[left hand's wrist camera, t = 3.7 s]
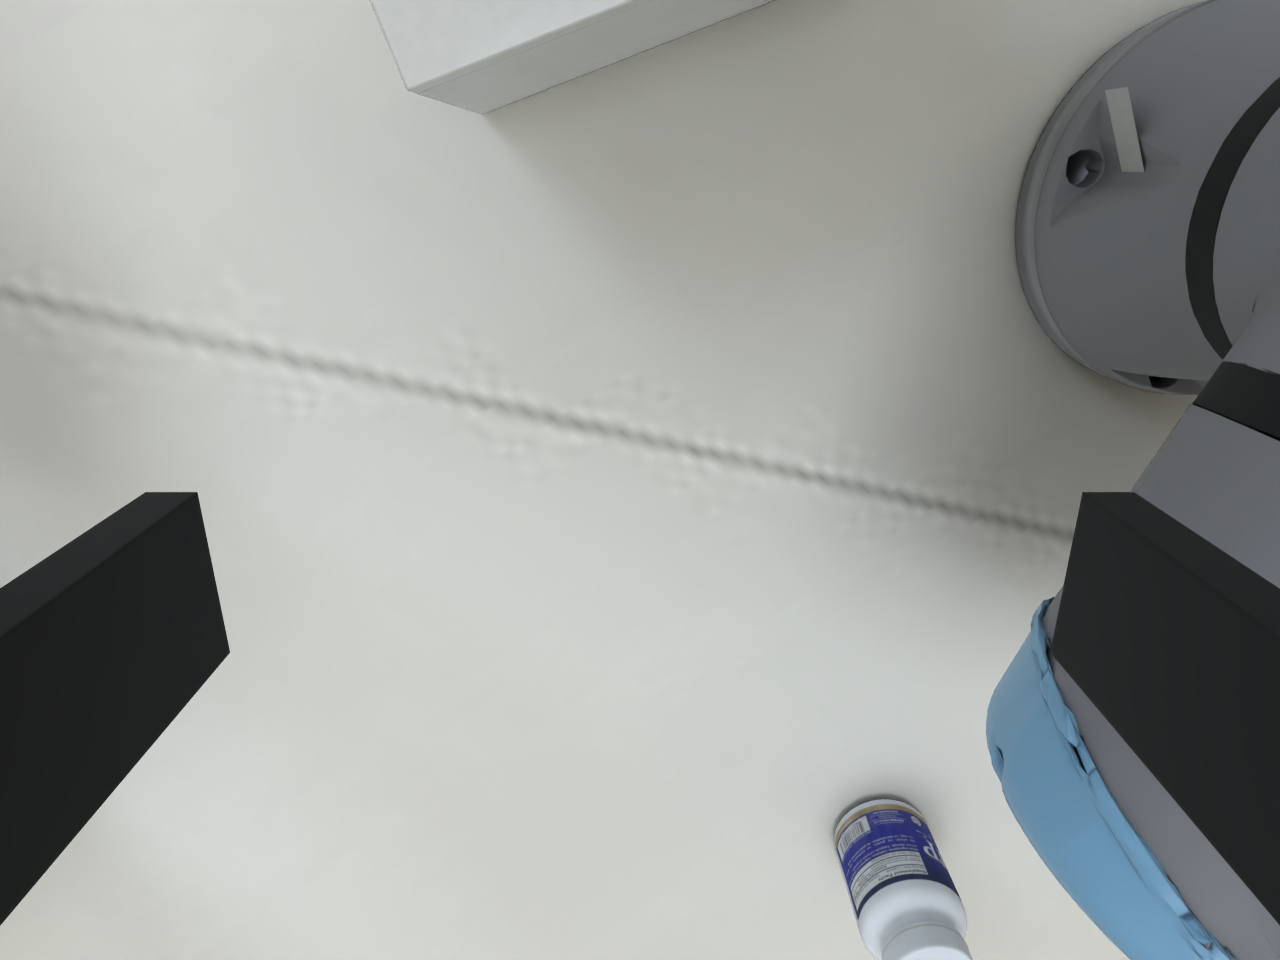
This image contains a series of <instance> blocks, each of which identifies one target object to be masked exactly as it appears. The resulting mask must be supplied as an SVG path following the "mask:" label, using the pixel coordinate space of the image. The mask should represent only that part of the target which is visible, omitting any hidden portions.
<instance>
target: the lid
mask: <svg viewBox="0 0 1280 960" xmlns="http://www.w3.org/2000/svg"><path fill="white" fill-rule="evenodd" d="M648 1H651V0H370V2H371V4H372V7H373V9H374V12H375V14H376V16H377V19H378V21H379V24H380V26H381V29H382V31H383V34H384V36H385V38H386V41H387V43H388V46H389V48H390V51H391V53H392V55H393V58H394V60H395V63H396V65H397V68H398V70H399V72H400V75H401V77H402V80H403V82H404V85H405V87H406V89H407V90H408V91H411V92H414V93H419V92H422V91H424V90H427V89H430V88H432V87H435V86H437V85H440V84H442V83H445V82H447V81H450V80H452V79H455V78H457V77H460V76H462V75H465V74H467V73H470V72H472V71H475V70H477V69H480V68H482V67H485V66H487V65H490V64H492V63H495V62H497V61H500V60H502V59H505V58H507V57H510V56H512V55H515V54H518V53H520V52H523V51H525V50H528V49H530V48H533V47H535V46H538V45H540V44H543V43H545V42H548V41H550V40H553V39H555V38H558V37H560V36H563V35H565V34H568V33H570V32H573V31H575V30H578V29H580V28H583V27H585V26H588V25H590V24H593V23H595V22H598V21H601V20H603V19H606V18H608V17H611V16H613V15H616V14H618V13H621V12H623V11H626V10H628V9H631V8H633V7H636V6H638V5H641V4H643V3H646V2H648Z"/></svg>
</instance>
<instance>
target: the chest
mask: <svg viewBox="0 0 1280 960" xmlns="http://www.w3.org/2000/svg"><path fill="white" fill-rule="evenodd" d="M771 1H774V0H651V1H648V2H646V3H643V4H641V5H638V6H636V7H633V8H631V9H628V10H626V11H623V12H621V13H618V14H616V15H613V16H611V17H608V18H606V19H603V20H601V21H598V22H595V23H593V24H590V25H588V26H585V27H583V28H580V29H578V30H575V31H573V32H570V33H568V34H565V35H563V36H560V37H558V38H555V39H553V40H550V41H548V42H545V43H543V44H540V45H538V46H535V47H533V48H530V49H528V50H525V51H523V52H520V53H518V54H515V55H512V56H510V57H507V58H505V59H502V60H500V61H497V62H495V63H492V64H490V65H487V66H485V67H482V68H480V69H477V70H475V71H472V72H470V73H467V74H465V75H462V76H460V77H457V78H455V79H452V80H450V81H447V82H445V83H442V84H440V85H437V86H435V87H432V88H430V89H427V90H424V91H422V92H419V93H417V94H419V95H422V96H425V97H428V98H432V99H435V100H438V101H441V102H444V103H447V104H450V105H454V106H457V107H460V108H463V109H466V110H469V111H472V112H476V113H479V114H485V113H487V112H490V111H492V110H495V109H497V108H500V107H502V106H505V105H508V104H510V103H513V102H515V101H518V100H520V99H523V98H525V97H528V96H531V95H533V94H536V93H538V92H541V91H543V90H546V89H548V88H551V87H554V86H556V85H559V84H561V83H564V82H566V81H569V80H571V79H574V78H577V77H579V76H582V75H584V74H587V73H589V72H592V71H595V70H597V69H600V68H602V67H605V66H607V65H610V64H612V63H615V62H618V61H620V60H623V59H625V58H628V57H630V56H633V55H635V54H638V53H641V52H643V51H646V50H648V49H651V48H653V47H656V46H658V45H661V44H664V43H666V42H669V41H671V40H674V39H676V38H679V37H681V36H684V35H687V34H689V33H692V32H694V31H697V30H699V29H702V28H705V27H707V26H710V25H712V24H715V23H717V22H720V21H722V20H725V19H728V18H730V17H733V16H735V15H738V14H740V13H743V12H745V11H748V10H751V9H753V8H756V7H758V6H761V5H763V4H766V3H768V2H771Z"/></svg>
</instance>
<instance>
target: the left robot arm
mask: <svg viewBox="0 0 1280 960" xmlns="http://www.w3.org/2000/svg"><path fill="white" fill-rule="evenodd" d="M1015 238H1016V256H1017V263H1018V269H1019V274H1020V278H1021V282H1022V286H1023V289H1024V292H1025V295H1026V297H1027V300H1028V303H1029V305H1030V307H1031V309H1032V311H1033V313H1034V315H1035V317H1036V319H1037V320H1038V322H1039V323H1040V325H1041V326H1042V327H1043V329H1044V330H1045V332H1046V333H1047V334H1048V335H1049V337H1050V338H1051V339H1052V340H1053V341H1054V342H1055V344H1057V345H1058V346H1059V347H1060V348H1061V349H1062V350H1063V351H1064V352H1065V353H1066V354H1068V355H1069V356H1070V357H1072V358H1073V359H1074V360H1076V361H1077V362H1079V363H1080V364H1082V365H1084V366H1086V367H1087V368H1089V369H1091V370H1093V371H1095V372H1097V373H1099V374H1101V375H1104V376H1106V377H1108V378H1110V379H1112V380H1115V381H1117V382H1120V383H1122V384H1124V385H1127V386H1130V387H1134V388H1137V389H1140V390H1144V391H1150V392H1155V393H1163V394H1181V395H1198V394H1199V395H1198V397H1197V398H1196V400H1195V401H1194V402H1193V403H1192V404H1193V405H1191V404H1190V406H1189V407H1188V409H1187V410H1186V412H1185V413H1184V414H1183V416H1182V417H1181V419H1180V420H1179V422H1178V423H1177V425H1176V426H1175V428H1174V429H1173V430H1172V432H1171V433H1170V435H1169V436H1168V438H1167V439H1166V441H1165V442H1164V444H1163V445H1162V446H1161V448H1160V449H1159V451H1158V452H1157V454H1156V455H1155V457H1154V458H1153V459H1152V461H1151V462H1150V464H1149V465H1148V467H1147V468H1146V470H1145V471H1144V473H1143V474H1142V475H1141V477H1140V478H1139V480H1138V481H1137V483H1136V484H1135V486H1134V487H1133V488H1132V490H1131V491H1130V492H1083V493H1082V498H1081V503H1080V508H1079V513H1078V518H1077V523H1076V528H1075V533H1074V537H1073V542H1072V547H1071V552H1070V557H1069V562H1068V567H1067V572H1066V577H1065V582H1064V585H1063V587H1062V588H1061V590H1060V591H1059V592H1058V594H1057V595H1056V596H1055V597H1053V598H1051V599H1049V600H1044V601H1043V602H1042V603H1041V605H1040V606H1039V607H1038V609H1037V610H1036V612H1035V613H1034V615H1033V619H1032V622H1031V632H1030V633H1029V635H1028V637H1027V638H1026V640H1025V641H1024V643H1023V645H1022V646H1021V648H1020V649H1019V651H1018V653H1017V654H1016V656H1015V658H1014V659H1013V661H1012V662H1011V664H1010V666H1009V667H1008V669H1007V671H1006V672H1005V674H1004V675H1003V677H1002V679H1001V680H1000V682H999V683H998V685H997V687H996V688H995V690H994V693H993V695H992V697H991V700H990V703H989V707H988V712H987V721H986V736H987V744H988V749H989V752H990V755H991V760H992V765H993V768H994V770H995V772H996V774H997V776H998V778H999V779H1000V781H1001V783H1002V790H1003V793H1004V795H1005V799H1006V801H1007V803H1008V805H1009V807H1010V809H1011V811H1012V813H1013V814H1014V816H1015V818H1016V820H1017V821H1018V823H1019V825H1020V826H1021V828H1022V830H1023V832H1024V833H1025V835H1026V836H1027V838H1028V839H1029V841H1030V843H1031V844H1032V846H1033V847H1034V849H1035V850H1036V852H1037V853H1038V855H1039V856H1040V857H1041V859H1042V860H1043V862H1044V863H1045V864H1046V866H1047V867H1048V869H1049V870H1050V871H1051V872H1052V874H1053V875H1054V876H1055V878H1056V879H1057V880H1058V882H1059V883H1060V884H1061V885H1062V887H1063V888H1064V889H1065V890H1066V891H1067V892H1068V894H1069V895H1070V896H1071V897H1072V898H1073V900H1074V901H1075V902H1076V903H1077V904H1078V906H1079V907H1080V908H1081V909H1082V910H1083V911H1084V912H1085V913H1086V915H1087V916H1088V917H1089V918H1090V919H1091V920H1092V921H1093V922H1094V923H1095V924H1096V925H1097V926H1098V928H1099V929H1100V930H1101V931H1102V932H1103V933H1104V934H1105V935H1106V936H1107V937H1108V938H1109V939H1110V940H1111V941H1112V942H1113V943H1114V944H1115V945H1116V946H1117V947H1118V948H1119V949H1120V950H1121V951H1122V952H1123V953H1124V954H1125V955H1126V956H1127V957H1128V958H1129V959H1130V960H1280V0H1207V1H1204V2H1200V3H1197V4H1194V5H1191V6H1188V7H1185V8H1182V9H1179V10H1176V11H1174V12H1172V13H1170V14H1167V15H1165V16H1163V17H1161V18H1158V19H1156V20H1155V21H1153V22H1151V23H1149V24H1147V25H1146V26H1144V27H1142V28H1140V29H1139V30H1137V31H1136V32H1134V33H1133V34H1131V35H1130V36H1128V37H1127V38H1125V39H1124V40H1122V41H1121V42H1120V43H1118V44H1117V45H1116V46H1115V47H1113V48H1112V49H1111V50H1110V51H1108V52H1107V53H1106V54H1105V55H1104V56H1102V57H1101V58H1100V59H1099V60H1098V61H1097V62H1096V63H1095V64H1094V65H1093V66H1092V67H1091V68H1090V69H1089V70H1088V71H1087V72H1086V73H1085V74H1084V75H1083V76H1082V77H1081V79H1080V80H1079V81H1078V82H1077V83H1076V84H1075V85H1074V87H1073V88H1072V89H1071V90H1070V92H1069V93H1068V94H1067V96H1066V97H1065V98H1064V100H1063V101H1062V102H1061V104H1060V105H1059V106H1058V108H1057V110H1056V111H1055V113H1054V114H1053V116H1052V117H1051V119H1050V121H1049V122H1048V124H1047V126H1046V128H1045V130H1044V131H1043V133H1042V135H1041V137H1040V139H1039V141H1038V143H1037V145H1036V148H1035V150H1034V153H1033V155H1032V157H1031V160H1030V162H1029V165H1028V168H1027V171H1026V174H1025V178H1024V181H1023V185H1022V189H1021V193H1020V198H1019V203H1018V211H1017V218H1016V237H1015ZM229 653H230V650H229V645H228V640H227V635H226V630H225V626H224V621H223V616H222V611H221V606H220V601H219V596H218V591H217V586H216V582H215V577H214V572H213V567H212V562H211V557H210V552H209V547H208V542H207V537H206V533H205V528H204V523H203V518H202V513H201V508H200V503H199V498H198V493H197V492H145V493H144V494H142V495H141V496H139V497H138V498H136V499H135V500H133V501H132V502H130V503H129V504H127V505H126V506H124V507H123V508H121V509H120V510H118V511H117V512H115V513H114V514H112V515H111V516H109V517H108V518H106V519H105V520H103V521H101V522H100V523H98V524H97V525H95V526H94V527H92V528H91V529H89V530H88V531H86V532H85V533H83V534H82V535H80V536H79V537H77V538H76V539H74V540H73V541H71V542H70V543H68V544H67V545H65V546H64V547H62V548H61V549H59V550H58V551H56V552H55V553H53V554H52V555H50V556H49V557H47V558H46V559H44V560H43V561H41V562H40V563H38V564H37V565H35V566H34V567H32V568H30V569H29V570H27V571H26V572H24V573H23V574H21V575H20V576H18V577H17V578H15V579H14V580H12V581H11V582H9V583H8V584H6V585H5V586H3V587H2V588H0V925H1V924H2V923H3V922H4V920H5V919H6V918H7V917H8V916H9V914H10V913H11V912H12V911H13V910H14V909H15V907H16V906H17V905H18V904H19V903H20V901H21V900H22V899H23V898H24V897H25V895H26V894H27V893H28V892H29V891H30V890H31V888H32V887H33V886H34V885H35V884H36V882H37V881H38V880H39V879H40V878H41V876H42V875H43V874H44V873H45V872H46V870H47V869H48V868H49V867H50V866H51V865H52V863H53V862H54V861H55V860H56V859H57V857H58V856H59V855H60V854H61V853H62V851H63V850H64V849H65V848H66V847H67V846H68V844H69V843H70V842H71V841H72V840H73V838H74V837H75V836H76V835H77V834H78V832H79V831H80V830H81V829H82V828H83V827H84V825H85V824H86V823H87V822H88V821H89V819H90V818H91V817H92V816H93V815H94V813H95V812H96V811H97V810H98V809H99V807H100V806H101V805H102V804H103V803H104V802H105V800H106V799H107V798H108V797H109V796H110V794H111V793H112V792H113V791H114V790H115V788H116V787H117V786H118V785H119V784H120V783H121V781H122V780H123V779H124V778H125V777H126V775H127V774H128V773H129V772H130V771H131V769H132V768H133V767H134V766H135V765H136V764H137V762H138V761H139V760H140V759H141V758H142V756H143V755H144V754H145V753H146V752H147V750H148V749H149V748H150V747H151V746H152V745H153V743H154V742H155V741H156V740H157V739H158V737H159V736H160V735H161V734H162V733H163V731H164V730H165V729H166V728H167V727H168V725H169V724H170V723H171V722H172V721H173V720H174V718H175V717H176V716H177V715H178V714H179V712H180V711H181V710H182V709H183V708H184V706H185V705H186V704H187V703H188V702H189V701H190V699H191V698H192V697H193V696H194V695H195V693H196V692H197V691H198V690H199V689H200V687H201V686H202V685H203V684H204V683H205V682H206V680H207V679H208V678H209V677H210V676H211V674H212V673H213V672H214V671H215V670H216V668H217V667H218V666H219V665H220V664H221V662H222V661H223V660H224V659H225V658H226V657H227V655H228V654H229Z"/></svg>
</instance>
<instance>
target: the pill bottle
mask: <svg viewBox="0 0 1280 960" xmlns="http://www.w3.org/2000/svg"><path fill="white" fill-rule="evenodd" d="M834 848H835V852H836V855H837V858H838V862H839V865H840V868H841V871H842V874H843V878H844V881H845V884H846V887H847V891H848V894H849V897H850V901H851V904H852V908H853V911H854V915H855V918H856V921H857V925H858V928H859V932H860V935H861V938H862V941H863V943H864V945H865V947H866V948H867V950H868V951H869V952H870V953H871V955H872V956H873V957H875V958H876V959H877V960H972V957H971V955H970V952H969V949H968V946H967V944H966V942H965V941H964V937H965V934H966V930H967V916H966V912H965V909H964V906H963V904H962V901H961V899H960V897H959V894H958V892H957V890H956V888H955V886H954V883H953V881H952V879H951V877H950V875H949V872H948V870H947V868H946V866H945V864H944V862H943V859H942V857H941V855H940V853H939V850H938V848H937V846H936V844H935V842H934V839H933V837H932V835H931V832H930V830H929V828H928V826H927V824H926V821H925V820H924V818H923V817H922V815H921V814H920V813H919V812H918V811H917V810H916V809H914V808H913V807H911V806H910V805H908V804H906V803H903V802H900V801H896V800H889V799H880V800H873V801H869V802H866V803H863V804H861V805H858V806H857V807H855V808H853V809H852V810H850V811H849V812H848V813H847V814H846V815H845V816H844V817H843V818H842V819H841V821H840V822H839V824H838V826H837V828H836V831H835V835H834Z"/></svg>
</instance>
